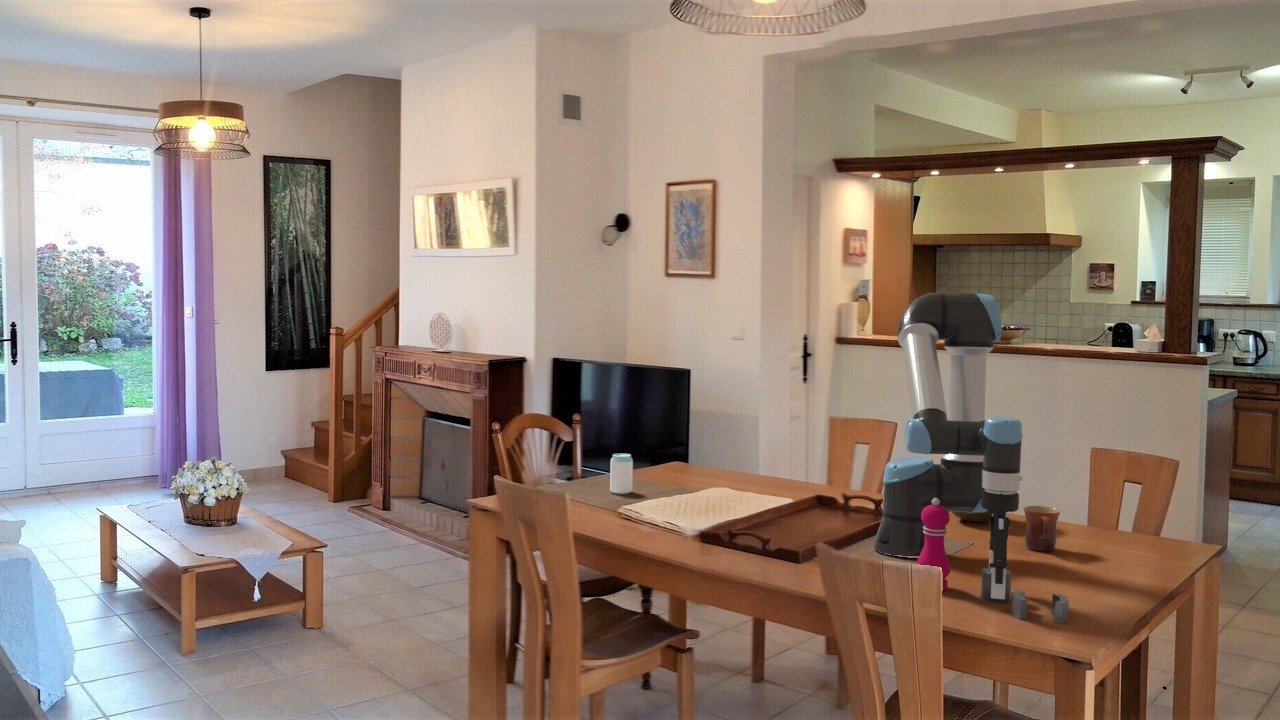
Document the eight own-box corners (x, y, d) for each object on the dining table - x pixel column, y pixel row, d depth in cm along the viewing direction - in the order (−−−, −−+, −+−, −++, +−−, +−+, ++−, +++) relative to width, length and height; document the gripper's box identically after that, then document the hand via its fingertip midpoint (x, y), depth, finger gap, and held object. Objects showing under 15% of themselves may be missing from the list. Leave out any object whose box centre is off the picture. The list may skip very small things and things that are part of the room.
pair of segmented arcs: (1012, 618, 206) (1013, 599, 206) (1010, 607, 213) (1011, 588, 213) (1069, 624, 203) (1070, 604, 203) (1064, 613, 210) (1066, 594, 210)
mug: (1019, 543, 267) (1021, 504, 266) (1054, 545, 265) (1056, 506, 265) (1027, 555, 255) (1028, 514, 255) (1064, 558, 254) (1066, 517, 253)
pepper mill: (910, 582, 230) (914, 494, 228) (942, 582, 231) (945, 494, 229) (922, 592, 223) (926, 501, 221) (954, 592, 223) (958, 501, 222)
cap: (981, 601, 217) (982, 573, 217) (980, 593, 223) (981, 565, 222) (1011, 604, 215) (1012, 575, 215) (1009, 596, 221) (1010, 568, 221)
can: (607, 494, 320) (608, 456, 319) (612, 489, 327) (612, 452, 326) (630, 495, 318) (630, 457, 318) (634, 491, 325) (634, 453, 324)
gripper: (1023, 503, 204) (1019, 608, 206) (1015, 482, 228) (1011, 576, 230) (983, 500, 207) (979, 604, 208) (979, 479, 230) (976, 572, 232)
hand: (996, 589), depth 219 cm, fingers open, 13 cm apart
